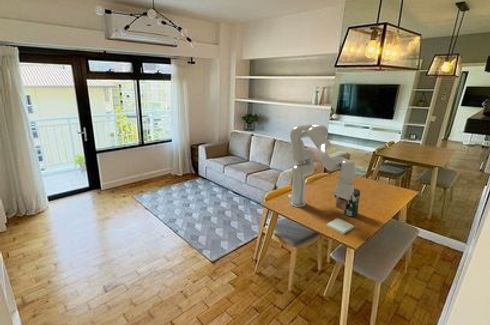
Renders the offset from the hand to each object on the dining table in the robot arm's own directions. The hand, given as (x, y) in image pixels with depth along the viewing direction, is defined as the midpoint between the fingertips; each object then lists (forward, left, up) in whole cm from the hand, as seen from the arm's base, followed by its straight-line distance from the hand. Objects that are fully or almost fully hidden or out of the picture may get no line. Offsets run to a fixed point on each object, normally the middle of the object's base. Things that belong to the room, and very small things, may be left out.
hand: (342, 206), depth 160 cm
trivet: (0, 0, -15) cm, 15 cm away
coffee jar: (-5, +21, -15) cm, 26 cm away
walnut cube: (0, 0, -1) cm, 1 cm away
